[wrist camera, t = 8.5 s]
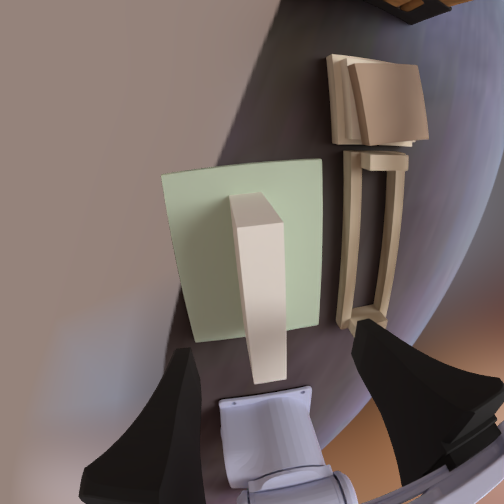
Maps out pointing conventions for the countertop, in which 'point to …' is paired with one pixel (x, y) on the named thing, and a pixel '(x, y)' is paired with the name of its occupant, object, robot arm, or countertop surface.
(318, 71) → the countertop surface
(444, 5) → the ammunition clip
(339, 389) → the countertop surface
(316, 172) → the sage mat
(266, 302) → the cream rectangular block
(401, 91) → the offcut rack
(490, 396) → the robot arm
